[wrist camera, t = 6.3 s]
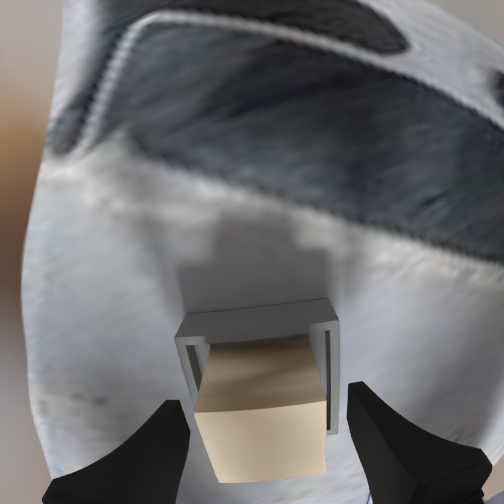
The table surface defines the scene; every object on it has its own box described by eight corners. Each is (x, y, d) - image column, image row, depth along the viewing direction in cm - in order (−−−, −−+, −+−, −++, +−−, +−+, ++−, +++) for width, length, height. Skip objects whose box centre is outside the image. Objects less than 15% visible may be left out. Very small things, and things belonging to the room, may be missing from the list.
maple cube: (308, 337, 14) (326, 400, 10) (312, 409, 15) (325, 473, 11) (210, 348, 14) (193, 412, 10) (227, 417, 15) (219, 482, 11)
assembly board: (327, 297, 15) (339, 320, 12) (330, 405, 16) (337, 433, 14) (185, 314, 15) (174, 337, 13) (212, 416, 17) (207, 445, 14)
